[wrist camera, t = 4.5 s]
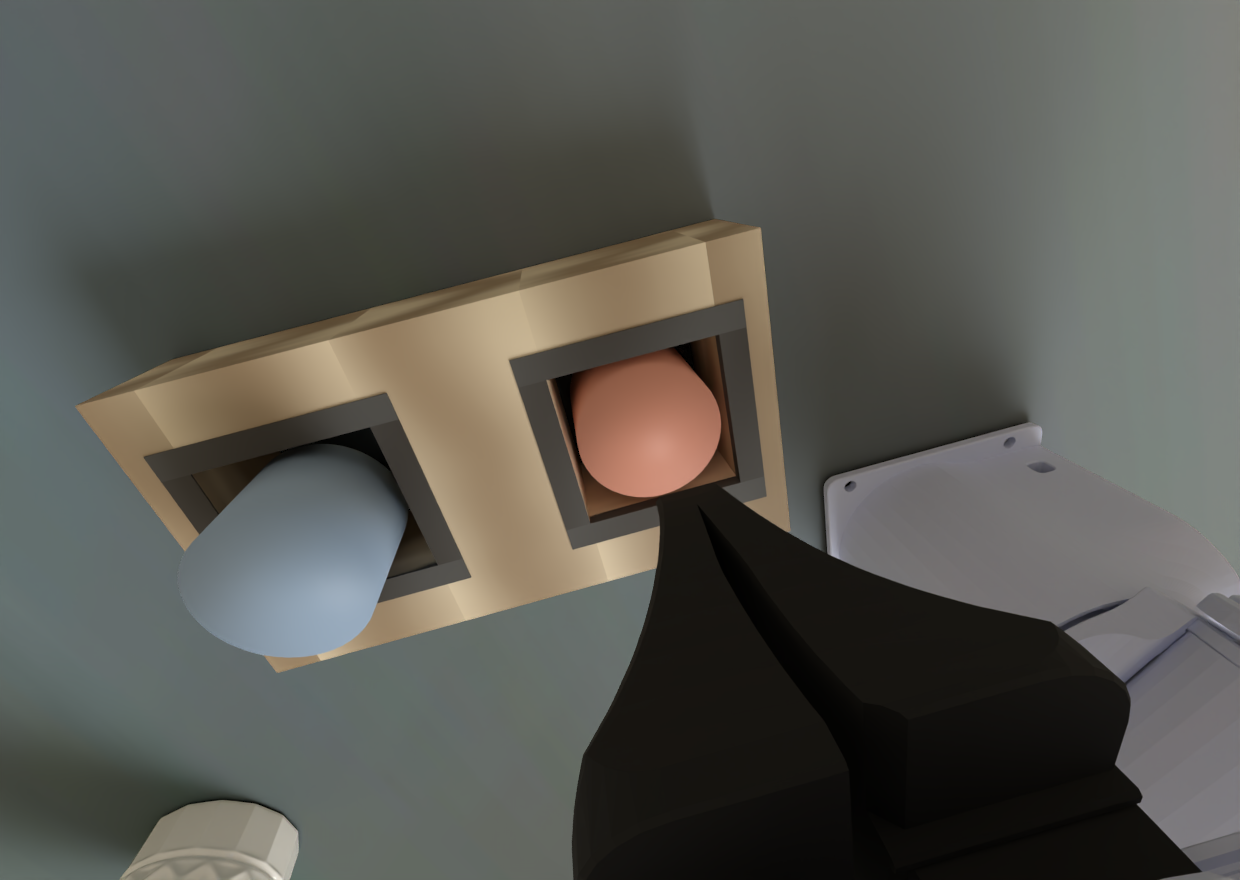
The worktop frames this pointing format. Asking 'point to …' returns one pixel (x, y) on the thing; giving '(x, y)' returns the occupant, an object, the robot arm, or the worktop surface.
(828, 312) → the worktop surface
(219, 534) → the blue peg
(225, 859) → the white cup
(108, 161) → the worktop surface
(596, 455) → the pink ball
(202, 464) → the peg block
